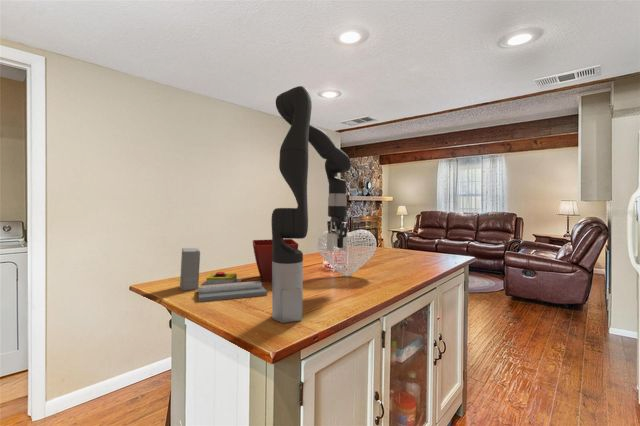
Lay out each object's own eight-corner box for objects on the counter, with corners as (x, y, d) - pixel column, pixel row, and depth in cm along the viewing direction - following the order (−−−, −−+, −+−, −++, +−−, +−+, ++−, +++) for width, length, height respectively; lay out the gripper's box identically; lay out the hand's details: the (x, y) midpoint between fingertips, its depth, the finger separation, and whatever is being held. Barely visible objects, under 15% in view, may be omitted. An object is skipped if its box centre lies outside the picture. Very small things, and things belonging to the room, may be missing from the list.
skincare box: (179, 286, 134) (179, 248, 133) (198, 284, 137) (197, 247, 137) (181, 291, 126) (181, 250, 126) (200, 289, 130) (200, 249, 129)
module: (341, 249, 136) (341, 232, 135) (347, 251, 131) (347, 233, 131) (326, 250, 133) (326, 232, 133) (332, 252, 128) (332, 233, 128)
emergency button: (208, 270, 146) (241, 270, 147) (208, 280, 146) (241, 280, 147) (202, 275, 137) (238, 275, 138) (202, 285, 137) (238, 285, 138)
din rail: (261, 288, 126) (261, 282, 126) (201, 293, 118) (201, 287, 118) (259, 285, 130) (259, 280, 130) (201, 290, 122) (201, 285, 122)
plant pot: (254, 284, 138) (254, 244, 137) (252, 274, 156) (252, 239, 156) (298, 282, 143) (298, 243, 142) (291, 272, 161) (291, 238, 161)
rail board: (267, 295, 122) (267, 291, 122) (198, 301, 113) (198, 297, 113) (259, 286, 135) (259, 282, 135) (198, 291, 126) (198, 287, 126)
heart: (319, 281, 144) (320, 231, 144) (315, 273, 160) (315, 228, 159) (380, 279, 148) (381, 231, 147) (370, 272, 164) (371, 228, 163)
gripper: (354, 205, 126) (353, 248, 127) (337, 205, 139) (337, 244, 140) (337, 205, 123) (336, 249, 124) (321, 204, 136) (321, 245, 137)
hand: (336, 246), depth 132 cm, fingers closed on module, 5 cm apart
